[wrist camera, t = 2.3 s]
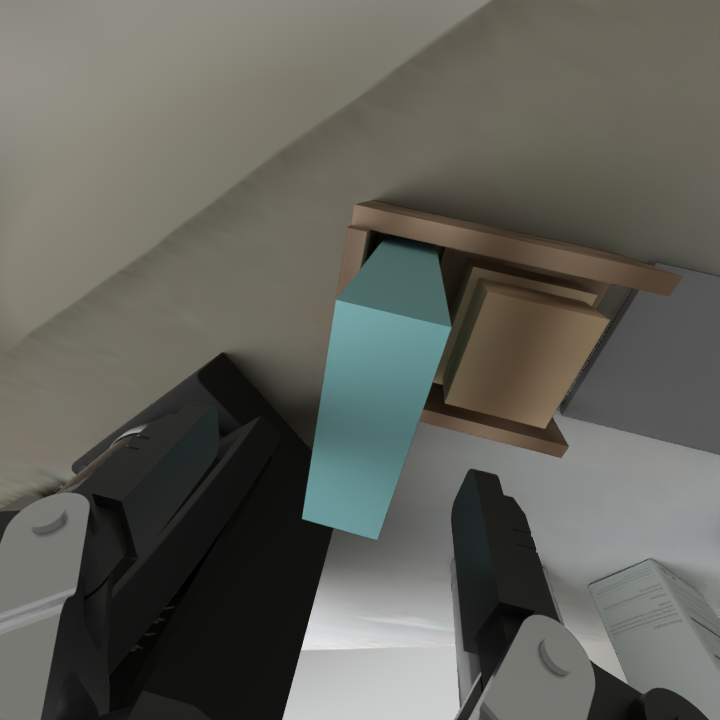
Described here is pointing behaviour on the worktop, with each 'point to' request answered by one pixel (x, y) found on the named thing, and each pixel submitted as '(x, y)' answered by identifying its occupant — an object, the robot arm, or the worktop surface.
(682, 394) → the charcoal mat
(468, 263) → the lower offcut
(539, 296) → the upper offcut
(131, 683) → the coffee maker
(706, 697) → the supplement box
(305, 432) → the worktop surface
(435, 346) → the teal board
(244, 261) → the worktop surface
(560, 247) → the walnut rack
